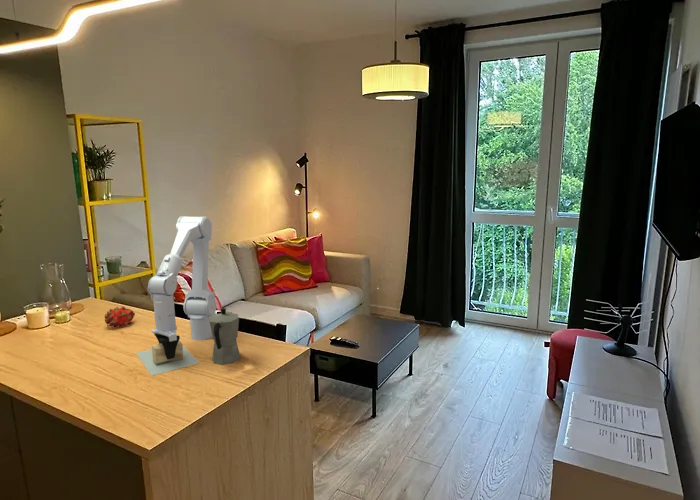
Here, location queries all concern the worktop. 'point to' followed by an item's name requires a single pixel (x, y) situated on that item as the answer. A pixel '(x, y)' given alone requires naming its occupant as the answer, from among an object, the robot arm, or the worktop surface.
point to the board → (165, 367)
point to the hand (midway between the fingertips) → (168, 355)
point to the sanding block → (160, 355)
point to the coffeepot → (225, 337)
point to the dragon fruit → (119, 317)
